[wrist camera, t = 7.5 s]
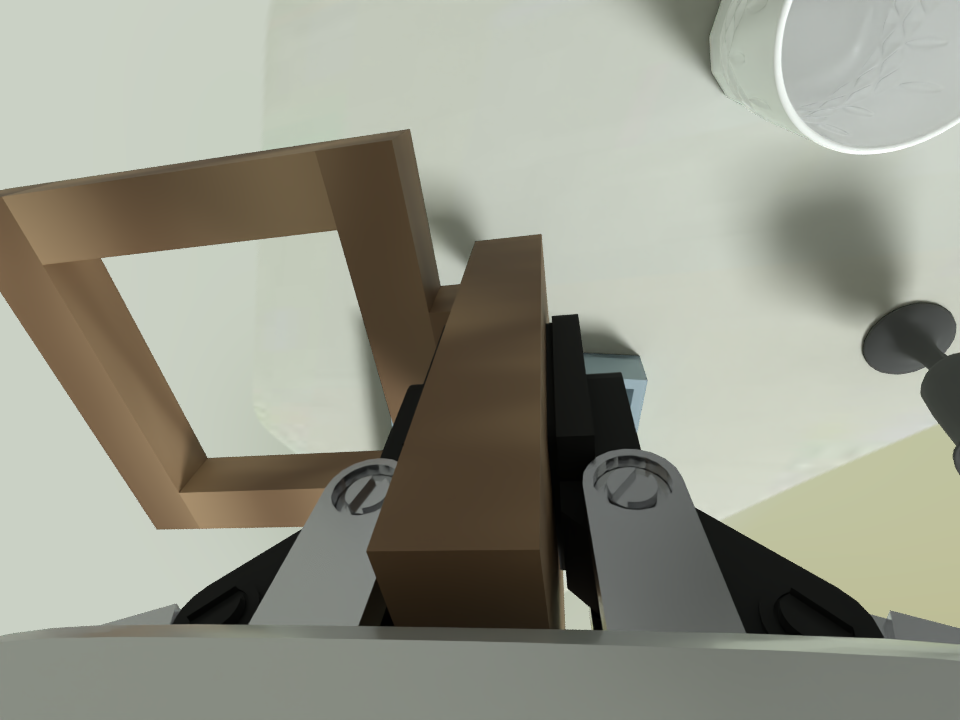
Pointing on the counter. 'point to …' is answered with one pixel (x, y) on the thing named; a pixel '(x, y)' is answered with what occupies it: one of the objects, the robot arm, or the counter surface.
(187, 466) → the ring
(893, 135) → the white cup
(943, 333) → the sundae
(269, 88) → the counter surface
